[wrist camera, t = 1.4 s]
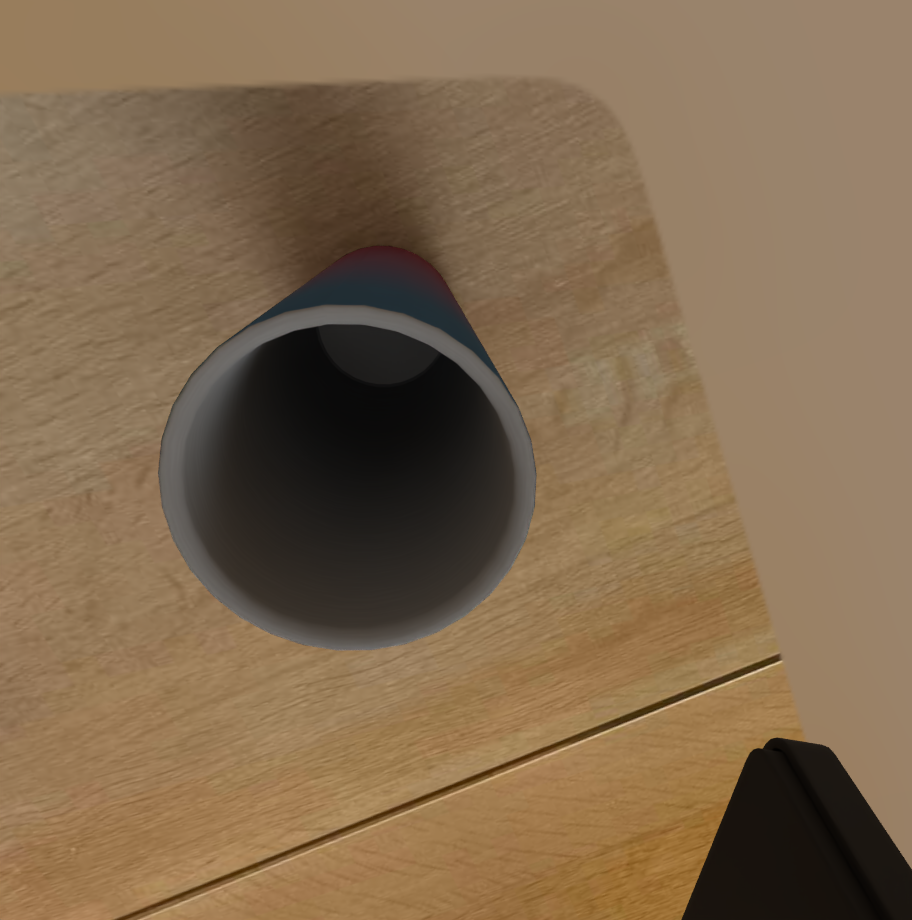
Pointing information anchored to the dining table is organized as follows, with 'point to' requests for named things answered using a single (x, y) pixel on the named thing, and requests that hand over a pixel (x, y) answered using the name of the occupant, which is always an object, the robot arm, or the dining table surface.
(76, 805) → the dining table surface
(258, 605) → the cup
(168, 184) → the dining table surface
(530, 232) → the dining table surface
